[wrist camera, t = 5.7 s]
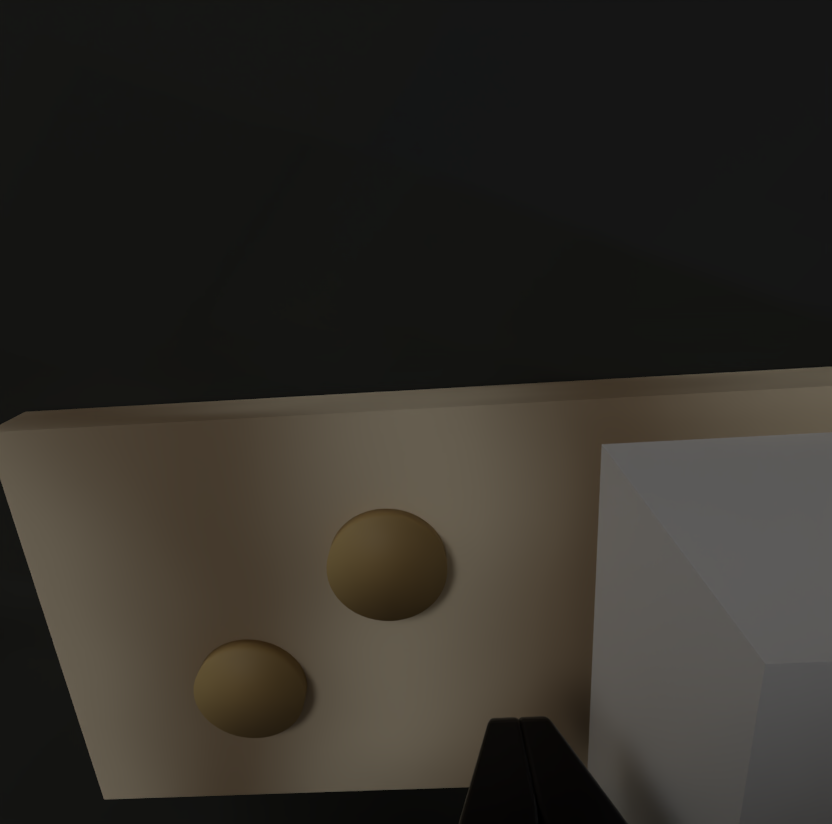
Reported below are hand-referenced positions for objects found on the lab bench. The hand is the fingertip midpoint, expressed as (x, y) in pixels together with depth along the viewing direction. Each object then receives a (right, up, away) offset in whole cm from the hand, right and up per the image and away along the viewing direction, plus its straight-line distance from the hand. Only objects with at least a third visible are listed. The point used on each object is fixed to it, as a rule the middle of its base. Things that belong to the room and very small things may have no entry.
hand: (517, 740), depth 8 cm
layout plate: (+1, +1, +3) cm, 4 cm away
